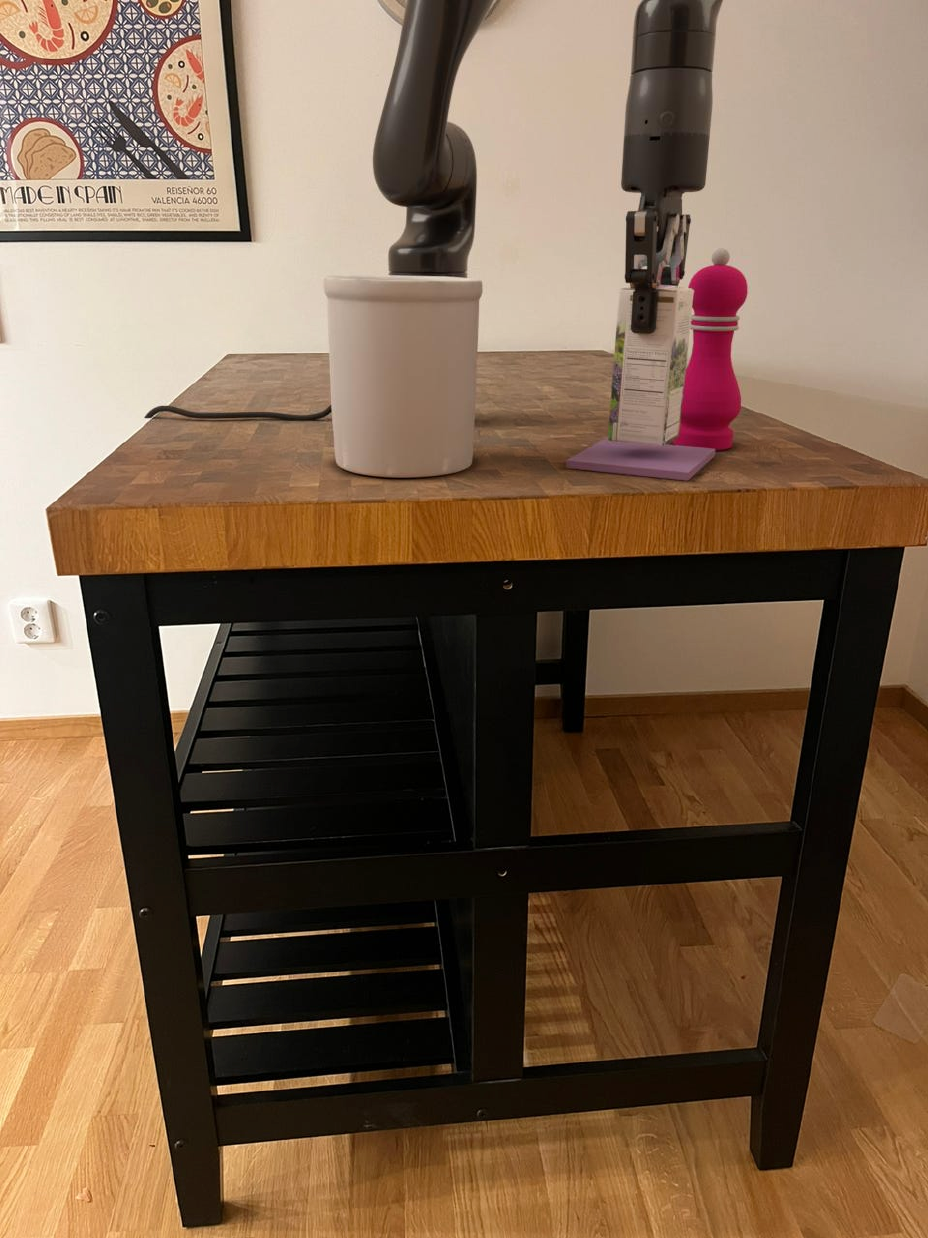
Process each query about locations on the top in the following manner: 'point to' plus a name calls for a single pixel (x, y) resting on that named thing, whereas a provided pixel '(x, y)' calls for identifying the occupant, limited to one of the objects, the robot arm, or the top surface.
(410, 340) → the utensil holder
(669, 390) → the syrup box
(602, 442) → the place mat
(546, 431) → the top surface
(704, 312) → the pepper mill
